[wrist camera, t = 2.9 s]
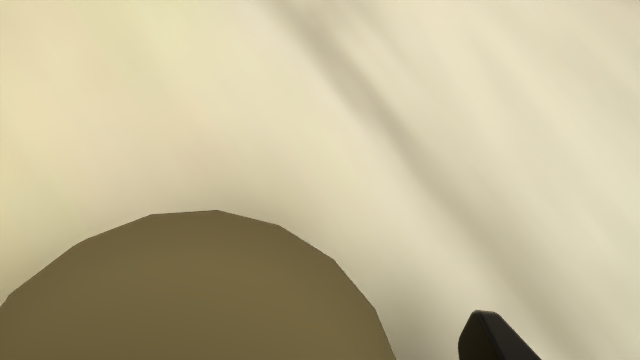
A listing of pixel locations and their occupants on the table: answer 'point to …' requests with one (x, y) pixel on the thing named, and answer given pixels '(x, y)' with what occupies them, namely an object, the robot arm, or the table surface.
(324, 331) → the olive pawn
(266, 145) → the table surface
